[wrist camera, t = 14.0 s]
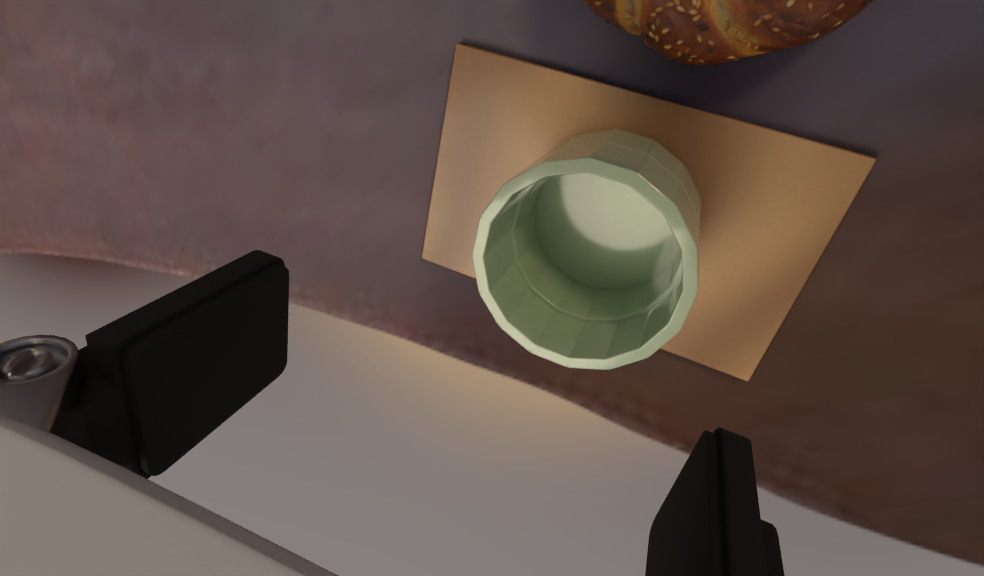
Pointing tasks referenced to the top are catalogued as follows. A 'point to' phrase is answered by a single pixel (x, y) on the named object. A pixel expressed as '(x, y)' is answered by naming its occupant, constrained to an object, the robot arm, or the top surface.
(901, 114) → the top surface
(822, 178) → the cork mat
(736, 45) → the seeded bagel
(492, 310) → the green cup
